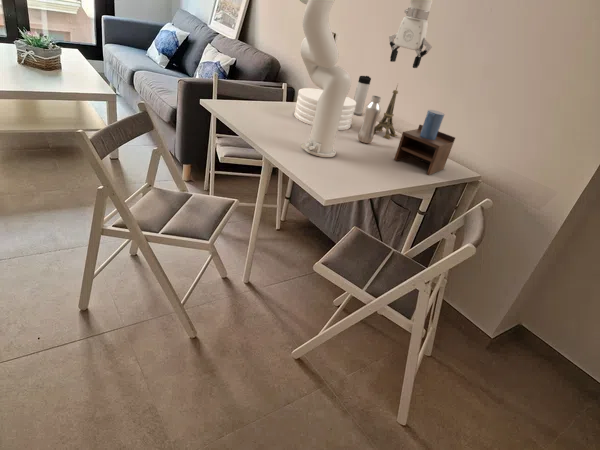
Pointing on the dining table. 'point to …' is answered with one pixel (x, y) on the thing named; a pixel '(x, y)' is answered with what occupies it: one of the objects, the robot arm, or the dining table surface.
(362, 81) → the travel mug
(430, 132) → the jug
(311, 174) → the dining table surface
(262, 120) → the dining table surface
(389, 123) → the eiffel tower
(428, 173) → the shelf stand
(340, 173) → the dining table surface
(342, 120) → the plate stack
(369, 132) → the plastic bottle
